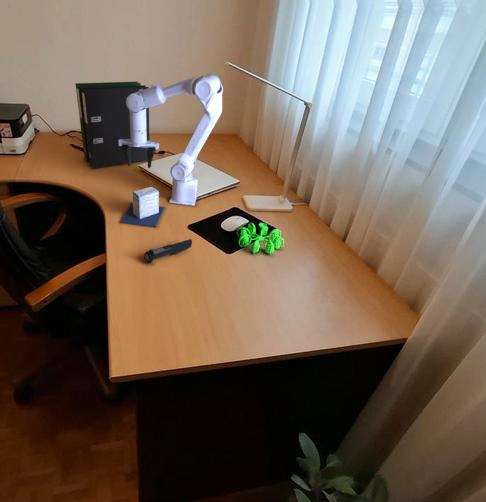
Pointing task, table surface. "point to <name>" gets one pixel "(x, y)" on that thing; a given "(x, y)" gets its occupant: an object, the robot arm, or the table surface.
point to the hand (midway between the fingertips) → (139, 166)
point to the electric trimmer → (167, 250)
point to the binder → (107, 122)
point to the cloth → (146, 221)
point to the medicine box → (145, 202)
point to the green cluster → (260, 238)
